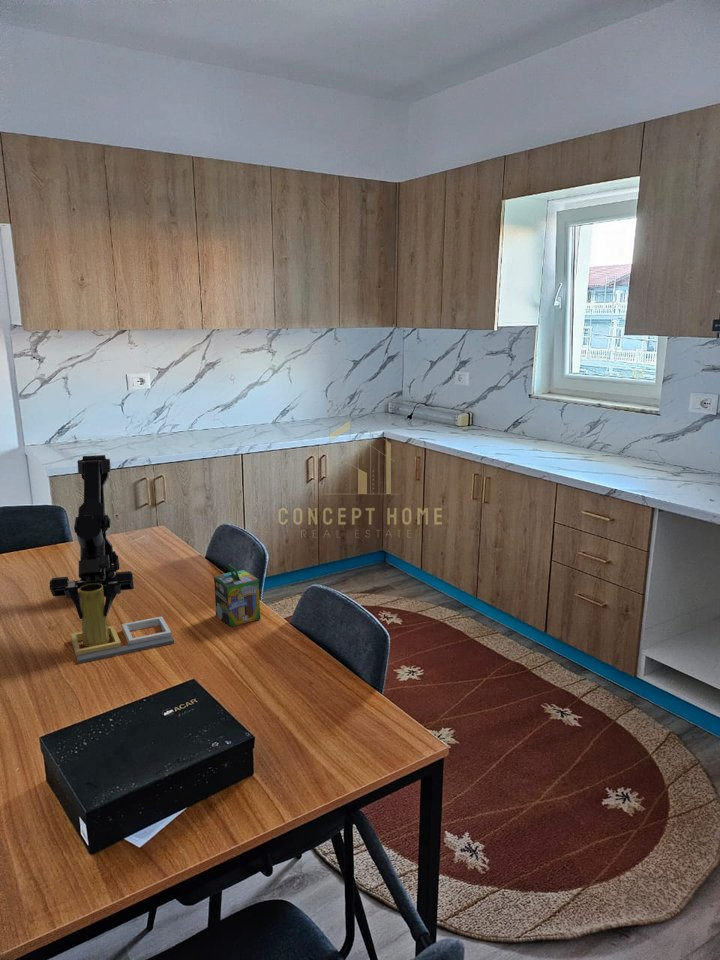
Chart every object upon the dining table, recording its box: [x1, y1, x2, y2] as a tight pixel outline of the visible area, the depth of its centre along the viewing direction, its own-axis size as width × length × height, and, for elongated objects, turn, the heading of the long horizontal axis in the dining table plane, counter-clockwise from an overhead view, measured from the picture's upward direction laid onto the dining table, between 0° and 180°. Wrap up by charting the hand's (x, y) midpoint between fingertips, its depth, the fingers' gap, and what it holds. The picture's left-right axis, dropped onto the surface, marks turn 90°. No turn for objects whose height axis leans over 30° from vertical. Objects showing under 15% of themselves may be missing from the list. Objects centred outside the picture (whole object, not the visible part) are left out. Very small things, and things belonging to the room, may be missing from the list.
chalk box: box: [213, 563, 261, 628], centre depth 180 cm, size 9×9×15 cm
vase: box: [79, 583, 111, 648], centre depth 164 cm, size 6×6×14 cm
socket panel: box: [70, 616, 175, 664], centre depth 167 cm, size 22×12×2 cm, turn 118°
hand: (93, 617), depth 163 cm, fingers closed on vase, 5 cm apart
